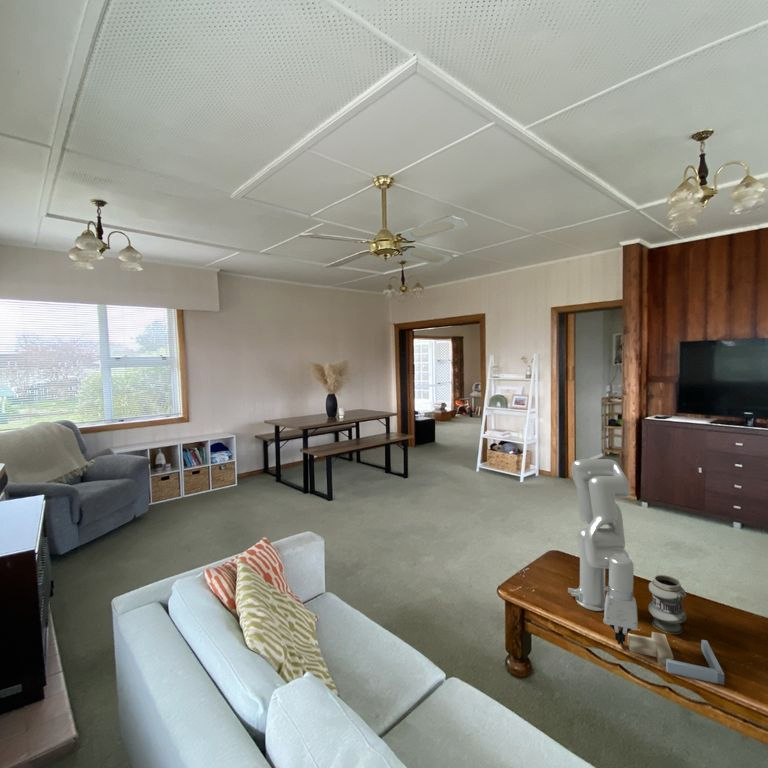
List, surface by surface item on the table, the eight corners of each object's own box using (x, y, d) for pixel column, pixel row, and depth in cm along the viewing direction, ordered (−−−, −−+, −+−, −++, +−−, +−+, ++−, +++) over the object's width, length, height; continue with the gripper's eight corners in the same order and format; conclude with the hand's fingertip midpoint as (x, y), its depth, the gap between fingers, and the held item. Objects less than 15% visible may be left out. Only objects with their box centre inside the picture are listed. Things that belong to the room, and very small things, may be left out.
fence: (667, 672, 138) (667, 661, 137) (656, 640, 153) (656, 630, 153) (724, 685, 132) (724, 674, 132) (706, 650, 147) (707, 640, 147)
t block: (631, 658, 144) (631, 647, 144) (626, 637, 155) (626, 626, 155) (673, 668, 139) (673, 656, 139) (664, 645, 150) (664, 634, 150)
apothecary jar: (645, 613, 169) (646, 569, 168) (682, 620, 164) (683, 575, 163) (650, 631, 158) (651, 584, 157) (689, 639, 153) (690, 591, 152)
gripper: (597, 593, 149) (597, 643, 150) (647, 602, 143) (646, 654, 144) (596, 583, 156) (595, 630, 157) (643, 591, 150) (642, 640, 151)
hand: (620, 642), depth 150 cm, fingers closed
